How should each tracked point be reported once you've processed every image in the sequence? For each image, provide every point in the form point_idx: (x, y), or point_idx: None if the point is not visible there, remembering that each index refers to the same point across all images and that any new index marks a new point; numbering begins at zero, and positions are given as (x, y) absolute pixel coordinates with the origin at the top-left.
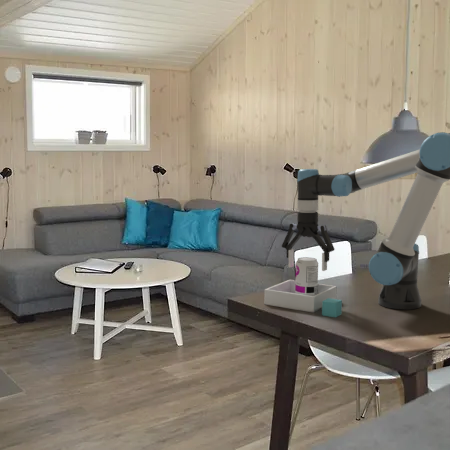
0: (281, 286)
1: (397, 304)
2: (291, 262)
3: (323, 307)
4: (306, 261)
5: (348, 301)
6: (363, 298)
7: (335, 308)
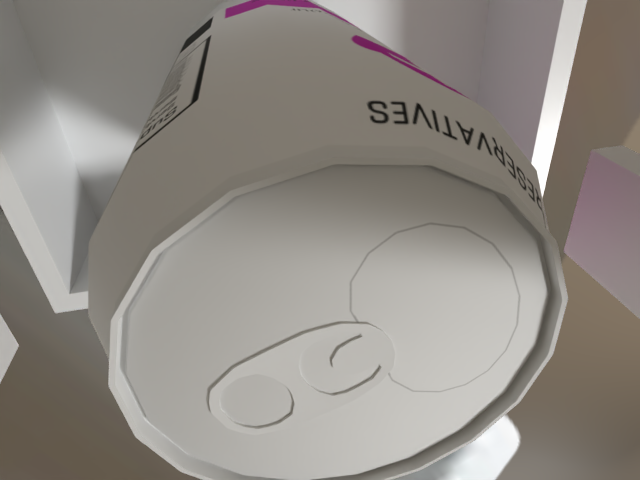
0: (538, 34)
1: None
2: (637, 227)
3: None
4: (228, 181)
5: (17, 278)
6: (18, 387)
7: None
